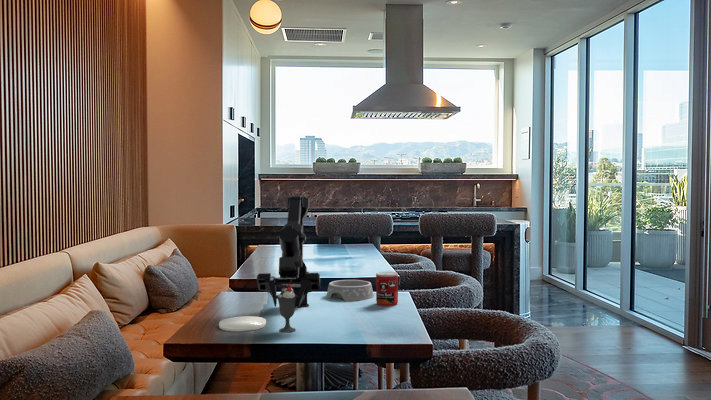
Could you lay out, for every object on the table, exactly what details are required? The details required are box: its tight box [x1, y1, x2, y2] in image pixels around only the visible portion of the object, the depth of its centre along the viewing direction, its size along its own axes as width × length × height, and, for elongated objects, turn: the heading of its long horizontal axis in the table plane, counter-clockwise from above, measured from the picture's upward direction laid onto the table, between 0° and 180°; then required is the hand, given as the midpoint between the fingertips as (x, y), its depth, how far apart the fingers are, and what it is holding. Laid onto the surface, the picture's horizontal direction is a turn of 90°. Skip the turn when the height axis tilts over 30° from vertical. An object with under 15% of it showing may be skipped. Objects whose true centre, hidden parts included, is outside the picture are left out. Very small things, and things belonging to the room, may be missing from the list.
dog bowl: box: [326, 279, 375, 302], centre depth 218 cm, size 17×18×5 cm
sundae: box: [276, 280, 299, 333], centre depth 168 cm, size 7×7×15 cm
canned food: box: [375, 271, 399, 307], centre depth 204 cm, size 8×8×11 cm
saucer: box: [218, 315, 267, 332], centre depth 174 cm, size 14×14×1 cm
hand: (286, 305), depth 167 cm, fingers closed on sundae, 6 cm apart
